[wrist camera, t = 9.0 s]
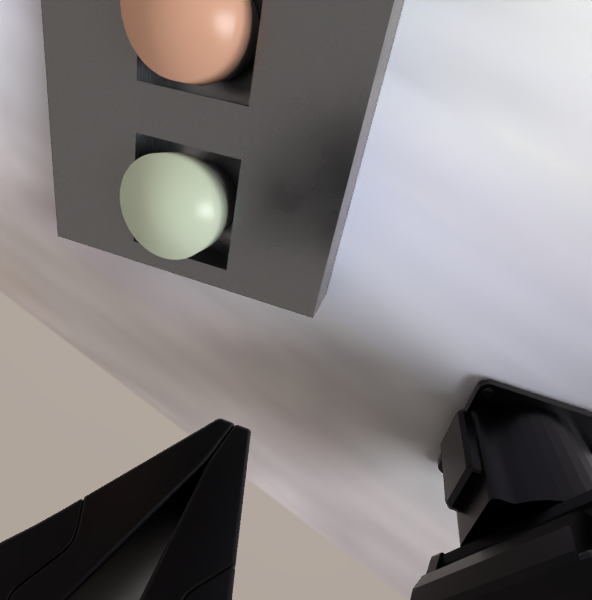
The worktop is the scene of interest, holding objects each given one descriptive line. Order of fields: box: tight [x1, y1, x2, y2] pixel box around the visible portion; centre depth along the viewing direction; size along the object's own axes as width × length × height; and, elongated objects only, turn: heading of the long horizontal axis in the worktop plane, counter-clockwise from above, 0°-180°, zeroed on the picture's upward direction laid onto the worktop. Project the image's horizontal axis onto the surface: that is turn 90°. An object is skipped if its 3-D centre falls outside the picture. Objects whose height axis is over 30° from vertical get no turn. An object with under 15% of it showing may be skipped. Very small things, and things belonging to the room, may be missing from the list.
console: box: [41, 0, 404, 318], centre depth 16 cm, size 14×21×3 cm, turn 168°
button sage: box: [120, 152, 236, 260], centre depth 18 cm, size 4×4×3 cm
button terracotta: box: [120, 0, 259, 86], centre depth 14 cm, size 4×4×3 cm
